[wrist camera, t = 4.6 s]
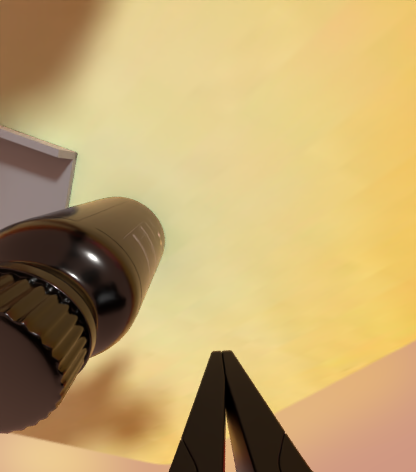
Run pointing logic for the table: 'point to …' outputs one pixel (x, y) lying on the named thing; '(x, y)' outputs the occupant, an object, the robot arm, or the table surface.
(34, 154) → the tray
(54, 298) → the supplement bottle
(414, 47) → the table surface
